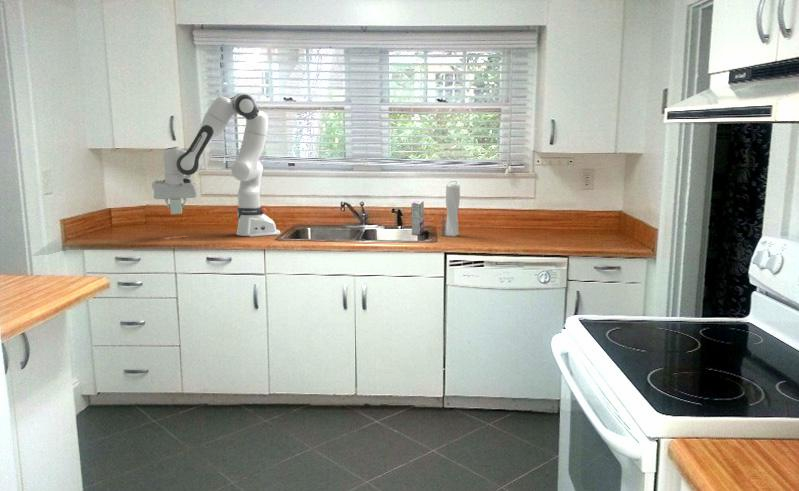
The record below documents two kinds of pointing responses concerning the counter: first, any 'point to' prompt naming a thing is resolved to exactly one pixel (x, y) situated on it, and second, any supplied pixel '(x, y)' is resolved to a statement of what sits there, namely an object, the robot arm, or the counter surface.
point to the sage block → (176, 206)
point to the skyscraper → (451, 210)
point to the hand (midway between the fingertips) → (176, 207)
